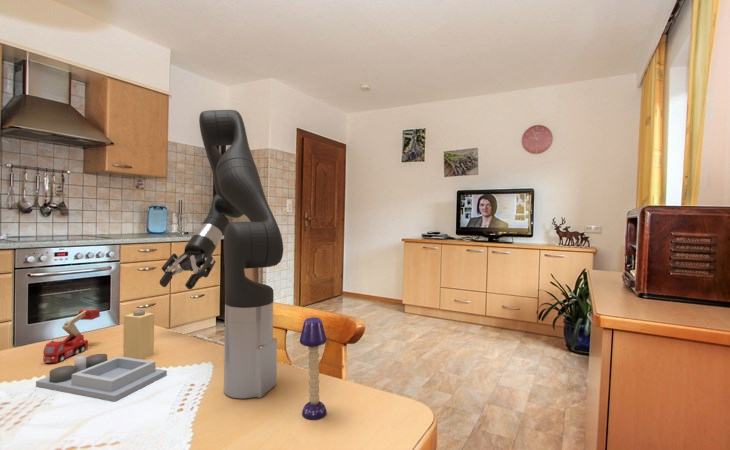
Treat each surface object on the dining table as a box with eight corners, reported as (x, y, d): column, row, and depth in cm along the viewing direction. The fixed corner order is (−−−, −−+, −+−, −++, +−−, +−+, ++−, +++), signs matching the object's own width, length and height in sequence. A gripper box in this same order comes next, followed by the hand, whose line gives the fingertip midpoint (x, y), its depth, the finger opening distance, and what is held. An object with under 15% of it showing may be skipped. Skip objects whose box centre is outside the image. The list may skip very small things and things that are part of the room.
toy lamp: (313, 424, 61) (315, 324, 61) (292, 415, 64) (294, 319, 63) (331, 411, 65) (332, 318, 65) (311, 404, 68) (312, 314, 68)
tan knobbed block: (153, 353, 91) (154, 310, 91) (139, 359, 87) (140, 314, 87) (137, 351, 92) (138, 308, 92) (123, 357, 89) (123, 312, 88)
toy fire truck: (40, 364, 83) (40, 322, 83) (87, 343, 97) (87, 307, 97) (55, 364, 83) (55, 322, 83) (100, 344, 97) (100, 307, 97)
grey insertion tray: (166, 375, 79) (166, 356, 79) (115, 401, 67) (115, 379, 67) (95, 363, 84) (95, 346, 84) (35, 386, 73) (36, 366, 73)
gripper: (178, 233, 111) (145, 276, 100) (218, 234, 107) (189, 280, 96) (190, 249, 116) (161, 292, 105) (230, 251, 112) (203, 296, 101)
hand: (174, 286), depth 100 cm, fingers open, 8 cm apart
